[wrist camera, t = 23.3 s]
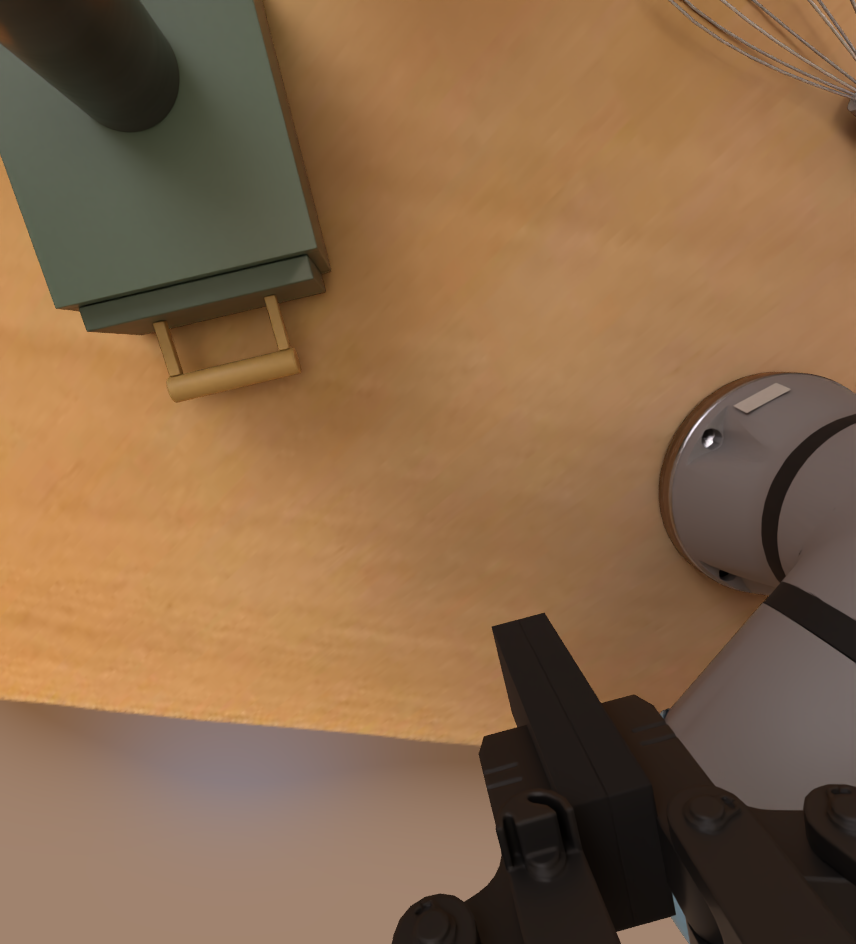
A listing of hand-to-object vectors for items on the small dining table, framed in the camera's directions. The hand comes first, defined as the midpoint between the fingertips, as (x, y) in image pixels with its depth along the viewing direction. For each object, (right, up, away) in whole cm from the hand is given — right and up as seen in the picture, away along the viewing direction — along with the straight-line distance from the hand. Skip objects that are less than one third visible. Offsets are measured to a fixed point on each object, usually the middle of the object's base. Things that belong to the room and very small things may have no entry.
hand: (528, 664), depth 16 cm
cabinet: (-17, +24, +18) cm, 34 cm away
